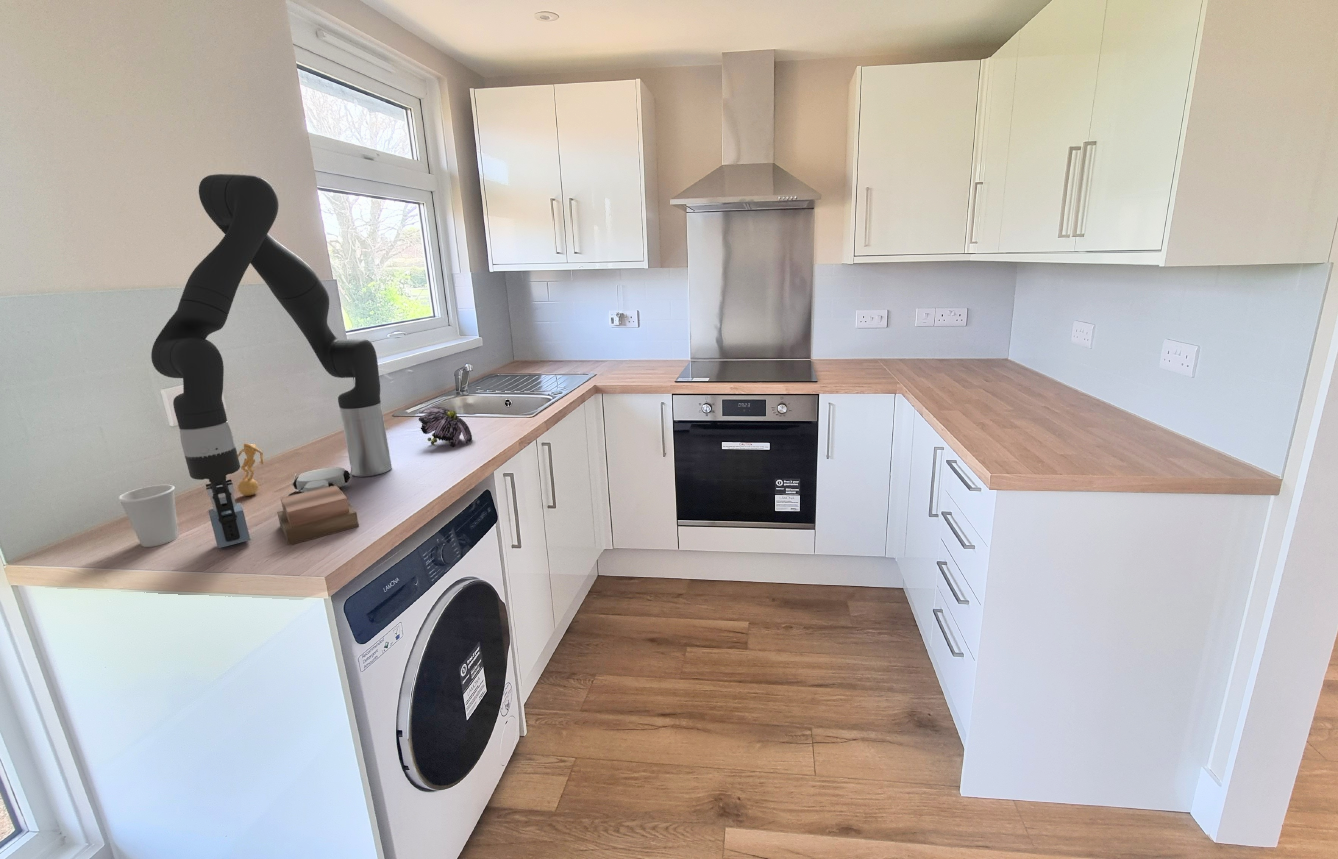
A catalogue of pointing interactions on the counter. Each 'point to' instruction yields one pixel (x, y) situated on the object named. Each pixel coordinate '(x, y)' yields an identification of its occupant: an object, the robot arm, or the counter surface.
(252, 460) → the figurine
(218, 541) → the slate brick
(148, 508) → the dixie cup
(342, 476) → the robot toy
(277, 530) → the counter surface
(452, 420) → the decorative flower
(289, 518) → the wooden stepped block
